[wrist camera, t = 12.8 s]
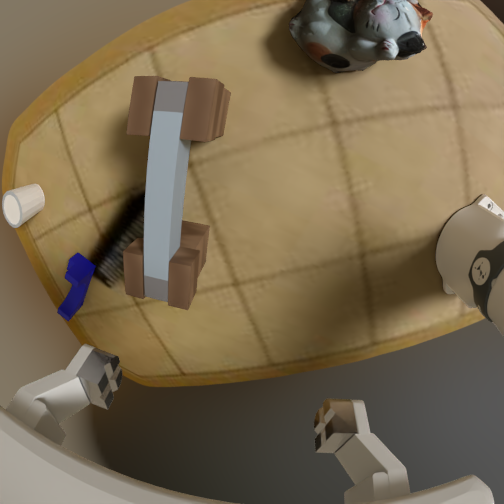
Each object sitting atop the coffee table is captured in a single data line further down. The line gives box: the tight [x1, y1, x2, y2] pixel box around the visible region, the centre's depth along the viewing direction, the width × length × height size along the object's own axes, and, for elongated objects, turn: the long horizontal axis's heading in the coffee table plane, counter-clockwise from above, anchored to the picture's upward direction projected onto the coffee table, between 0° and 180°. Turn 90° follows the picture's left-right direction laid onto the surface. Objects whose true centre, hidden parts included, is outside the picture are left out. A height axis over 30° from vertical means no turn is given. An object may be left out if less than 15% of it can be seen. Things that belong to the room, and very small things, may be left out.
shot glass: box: [2, 184, 45, 228], centre depth 37 cm, size 7×7×7 cm
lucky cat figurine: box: [289, 0, 433, 73], centre depth 21 cm, size 15×12×14 cm
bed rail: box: [144, 81, 191, 302], centre depth 29 cm, size 3×24×4 cm, turn 170°
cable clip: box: [58, 253, 96, 321], centre depth 45 cm, size 12×4×6 cm, turn 144°
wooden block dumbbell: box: [123, 76, 231, 310], centre depth 32 cm, size 8×25×12 cm, turn 170°
